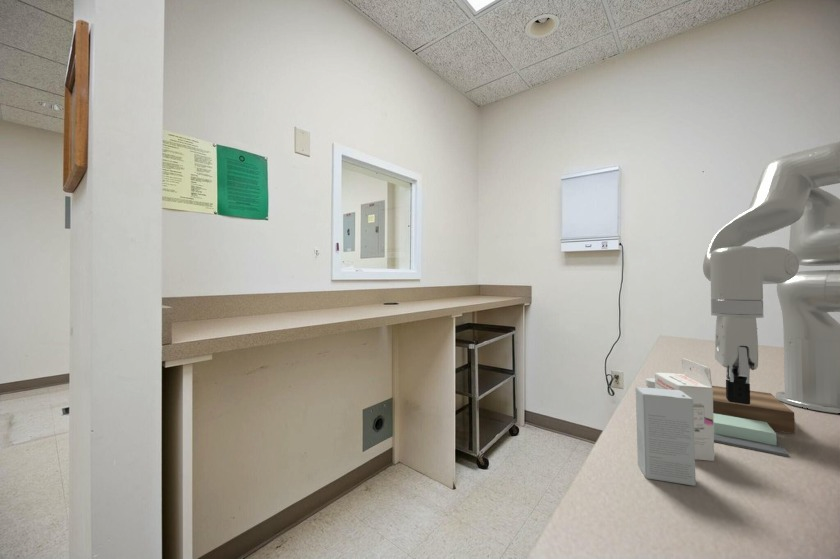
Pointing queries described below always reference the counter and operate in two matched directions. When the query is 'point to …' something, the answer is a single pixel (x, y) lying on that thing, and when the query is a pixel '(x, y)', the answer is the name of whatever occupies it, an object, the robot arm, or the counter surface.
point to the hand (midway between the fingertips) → (737, 401)
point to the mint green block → (744, 429)
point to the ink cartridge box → (695, 403)
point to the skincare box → (665, 435)
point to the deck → (756, 409)
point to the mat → (751, 444)
